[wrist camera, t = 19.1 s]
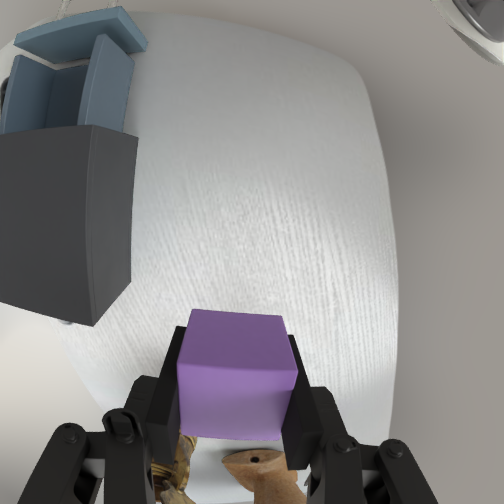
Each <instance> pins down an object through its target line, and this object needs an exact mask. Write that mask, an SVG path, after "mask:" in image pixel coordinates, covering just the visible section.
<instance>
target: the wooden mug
mask: <svg viewBox="0 0 504 504" xmlns="http://www.w3.org/2000/svg"><path fill="white" fill-rule="evenodd" d="M196 443H197V437H196V436H187V435H182V434H181V427H180V429H179V435H178V440H177V446H176V452H175V458H174V464H173V465H169V464H162V463H157V462H154V459H152V463H151V468H152V472H153V483H154V493H155V501H156V502H161V503H162V504H196V503H195V502H193V501H192V500H191V499H190V498H189V497H188V496H187V495H186V494H185V492H184V490H185V488H186V485H187V482H188V478H189V472H190V457H191V454H192V453H193V451H194V449H195V446H196Z"/></svg>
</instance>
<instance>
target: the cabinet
mask: <svg viewBox="0 0 504 504" xmlns="http://www.w3.org/2000/svg"><path fill="white" fill-rule="evenodd" d="M137 146H138V137H135V136H132V135H129V134H125V133H122V132H118V131H115V130H111V129H108V128H104V127H101V126H97V125H75V126H63V127H52V128H43V129H34V130H27V131H20V132H13V133H7V134H1V135H0V302H2V303H6V304H8V305H12V306H15V307H18V308H21V309H25V310H28V311H32V312H35V313H39V314H42V315H46V316H50V317H54V318H57V319H61V320H65V321H70V322H74V323H78V324H82V325H87V326H91V327H93V326H94V325H95V324H96V323H97V322H98V320H99V319H100V318H101V317H102V316H103V314H104V313H105V312H106V311H107V309H108V308H109V307H110V306H111V305H112V303H113V302H114V301H115V300H116V299H117V298H118V296H119V295H120V294H121V293H122V292H123V291H124V289H125V288H126V287H127V286H128V285H129V284H130V282H131V223H132V202H133V187H134V175H135V164H136V155H137Z"/></svg>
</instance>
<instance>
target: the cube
mask: <svg viewBox="0 0 504 504" xmlns="http://www.w3.org/2000/svg"><path fill="white" fill-rule="evenodd" d="M297 374H298V369H297V366H296V362H295V359H294V355H293V352H292V349H291V345H290V342H289V338H288V335H287V332H286V328H285V325H284V321H283V318H282V316H278V315H262V314H248V313H235V312H223V311H212V310H202V309H192V311H191V314H190V318H189V321H188V325H187V328H186V332H185V335H184V339H183V342H182V346H181V349H180V353H179V356H178V360H177V381H178V398H179V413H180V427H181V434H182V435H187V436H196V437H205V438H217V439H233V440H279V438H280V435H281V429H282V425H283V422H284V419H285V415H286V412H287V408H288V405H289V401H290V397H291V394H292V390H293V389H294V386H295V382H296V378H297Z"/></svg>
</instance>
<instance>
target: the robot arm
mask: <svg viewBox="0 0 504 504" xmlns="http://www.w3.org/2000/svg"><path fill="white" fill-rule="evenodd" d="M452 1H453V3H454V4H455V6H456V7H457V8H458V10H459V11H460V12H461V14H462V15H463V16H464V17H465V18H466V20H467V21H468V22H469V23H470V24H471V25H472V26H473V27H474V28H475V29H476V30H477V31H478V32H479V33H481V34H482V35H483V36H484V37H486V38H487V39H489V40H490V41H492V42H495V43H502V42H504V0H452ZM186 328H187V327H183V326H176V329H175V332H174V334H173V337H172V340H171V343H170V346H169V349H168V352H167V355H166V358H165V361H164V364H163V367H162V370H161V373H160V376H159V378H157V377H151V376H145V375H141V376H140V377H139V378H138V379H137V380H136V381H134V384H133V386H132V388H131V391H130V393H129V396H128V398H127V401H126V403H125V406H124V408H117V409H112V410H110V411H108V412H107V413H106V414H105V415H104V416H103V419H102V422H103V425H104V428H105V431H104V432H86V431H85V430H84V429H83V428H82V427H81V426H80V425H78V424H75V423H64V424H62V425H60V426H59V427H58V428H57V429H56V430H55V432H54V433H53V435H52V437H51V439H50V441H49V442H48V444H47V446H46V448H45V450H44V451H43V453H42V455H41V457H40V459H39V461H38V463H37V465H36V466H35V469H34V470H33V473H32V474H31V476H30V478H29V480H28V482H27V484H26V486H25V488H24V491H23V493H22V495H21V497H20V499H19V501H18V503H17V504H94V503H95V500H96V497H97V494H98V491H99V488H100V485H101V482H102V479H103V478H104V504H156V501H155V493H154V483H153V472H152V468H151V463H152V459H154V462H157V463H162V464H169V465H173V464H174V458H175V452H176V446H177V440H178V435H179V429H180V413H179V398H178V381H177V360H178V356H179V353H180V349H181V346H182V342H183V339H184V335H185V332H186ZM288 338H289V342H290V345H291V349H292V352H293V355H294V359H295V362H296V366H297V369H298V374H297V378H296V382H295V386H294V389H293V390H292V394H291V397H290V401H289V405H288V408H287V412H286V415H285V419H284V422H283V425H282V429H281V434H282V440H283V446H284V452H285V458H286V464H287V469H288V471H291V470H305V469H307V467H308V465H309V463H310V467H311V473H310V474H309V476H308V478H307V480H306V481H305V484H304V486H307V485H308V490H307V502H306V504H438V502H437V500H436V498H435V496H434V494H433V492H432V491H431V488H430V487H429V485H428V483H427V481H426V479H425V477H424V475H423V473H422V472H421V470H420V468H419V466H418V464H417V463H416V461H415V459H414V457H413V455H412V453H411V452H410V450H409V448H408V447H407V445H406V444H405V443H403V442H402V441H400V440H396V439H388V440H386V441H383V443H382V444H381V445H380V446H371V445H364V444H360V443H358V441H357V440H356V439H355V438H354V437H352V436H350V435H348V433H347V431H346V428H345V426H344V423H343V421H342V418H341V416H340V413H339V410H338V408H337V405H336V403H335V400H334V398H333V395H332V393H331V392H330V391H329V390H328V389H327V388H326V387H325V386H323V387H310V384H309V381H308V378H307V375H306V372H305V369H304V366H303V363H302V360H301V357H300V353H299V350H298V347H297V344H296V341H295V338H294V335H288Z"/></svg>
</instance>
